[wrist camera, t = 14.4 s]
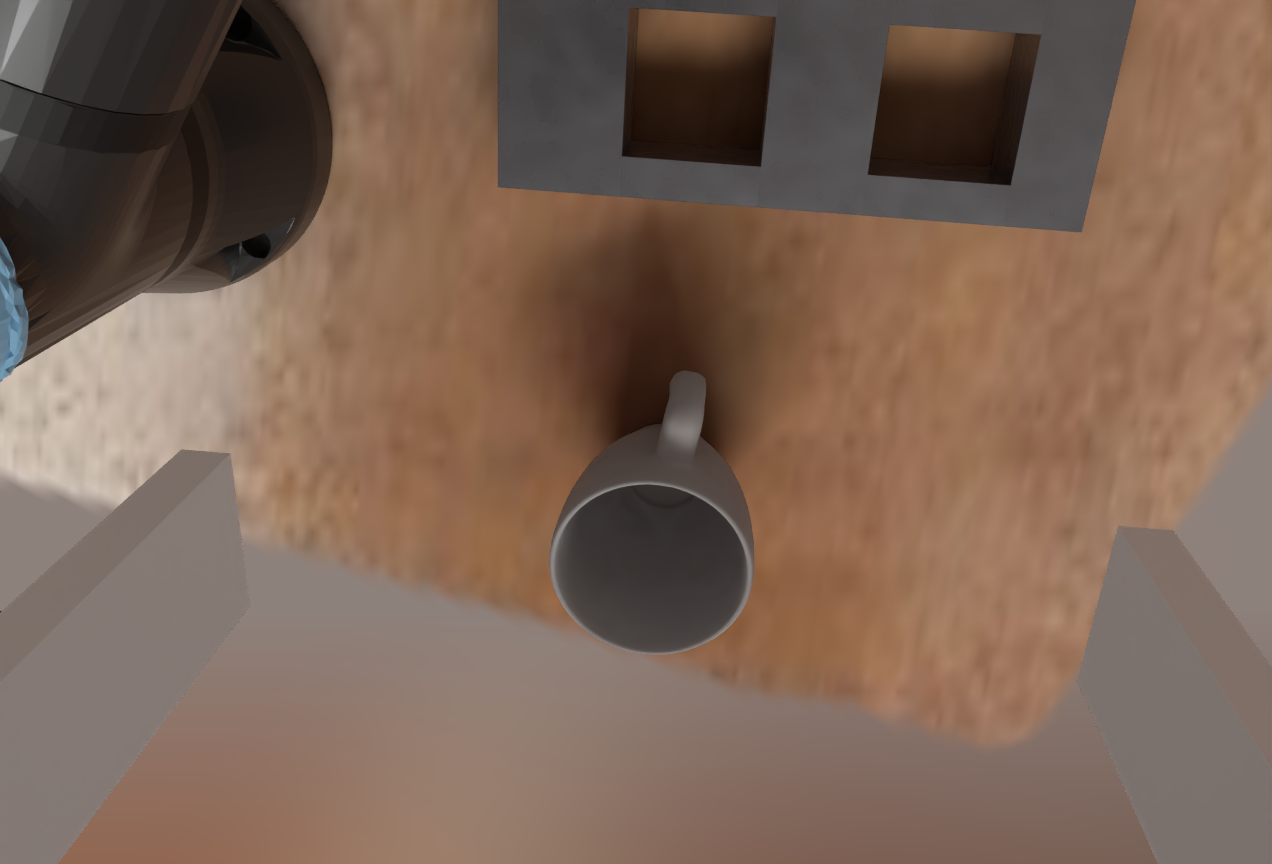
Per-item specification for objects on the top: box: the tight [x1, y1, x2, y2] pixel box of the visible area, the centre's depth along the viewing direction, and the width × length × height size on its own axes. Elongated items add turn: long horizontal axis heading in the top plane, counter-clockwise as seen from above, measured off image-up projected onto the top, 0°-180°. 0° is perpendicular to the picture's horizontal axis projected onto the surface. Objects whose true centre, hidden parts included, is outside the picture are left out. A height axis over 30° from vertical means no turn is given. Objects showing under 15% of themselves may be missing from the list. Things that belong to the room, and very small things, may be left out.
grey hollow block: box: [498, 0, 1136, 232], centre depth 44 cm, size 24×9×4 cm, turn 87°
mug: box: [550, 370, 754, 655], centre depth 49 cm, size 12×9×10 cm
